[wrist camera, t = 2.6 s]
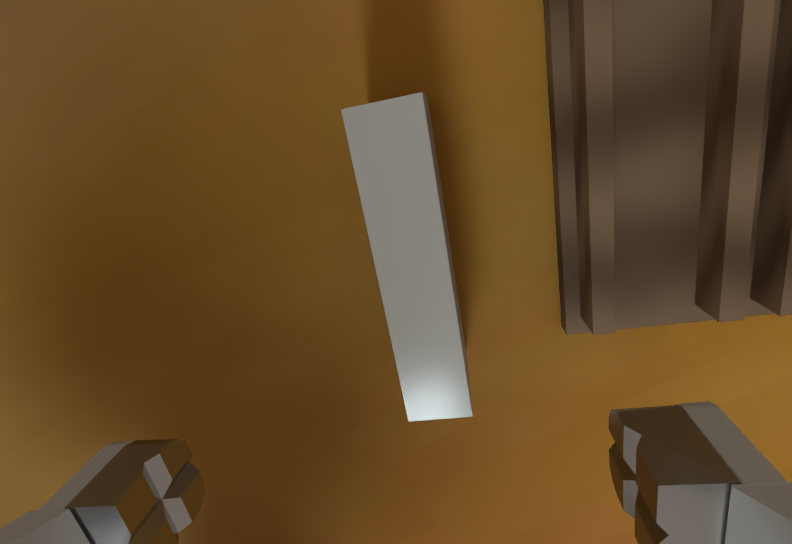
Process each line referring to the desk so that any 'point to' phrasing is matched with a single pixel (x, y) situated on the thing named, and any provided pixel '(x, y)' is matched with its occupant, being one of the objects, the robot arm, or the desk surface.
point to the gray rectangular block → (411, 251)
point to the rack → (670, 160)
